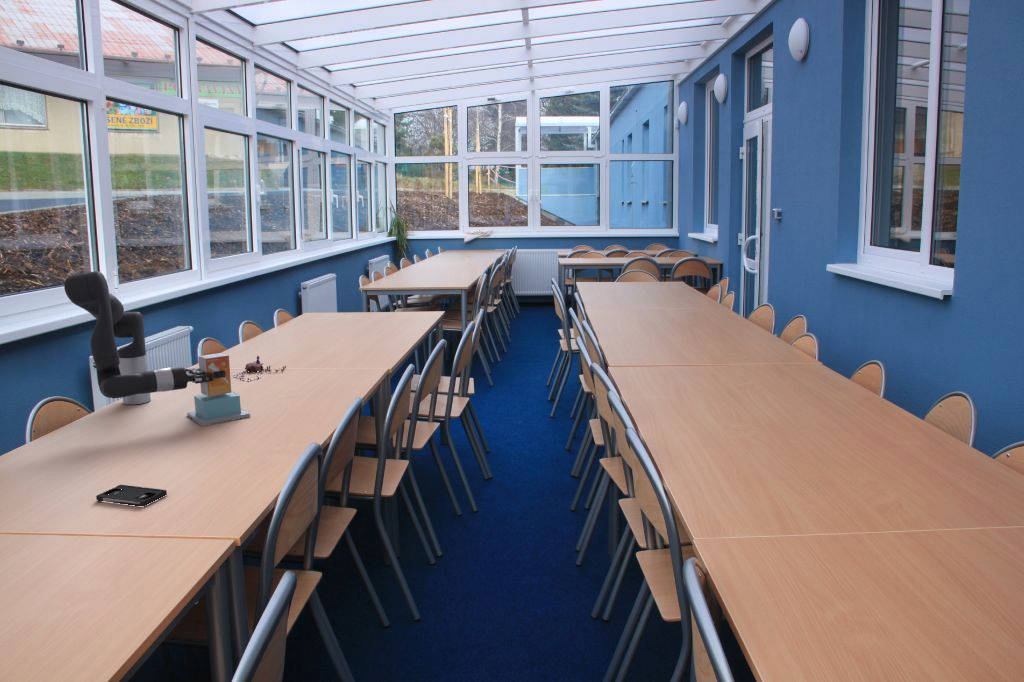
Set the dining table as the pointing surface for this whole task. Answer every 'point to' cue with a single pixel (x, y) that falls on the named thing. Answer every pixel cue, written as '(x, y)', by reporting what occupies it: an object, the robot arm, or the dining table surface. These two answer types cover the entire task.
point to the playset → (256, 367)
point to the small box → (212, 365)
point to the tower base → (217, 408)
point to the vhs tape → (131, 495)
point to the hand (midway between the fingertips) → (221, 371)
